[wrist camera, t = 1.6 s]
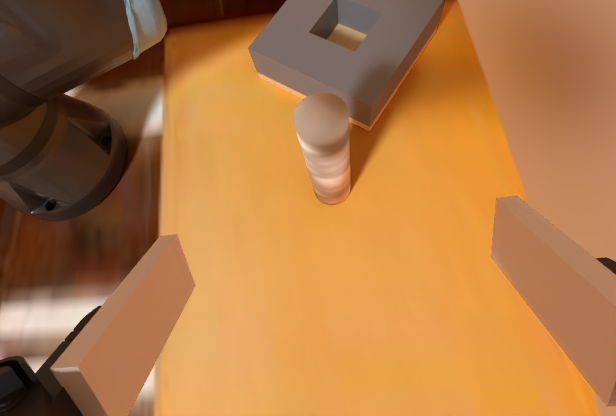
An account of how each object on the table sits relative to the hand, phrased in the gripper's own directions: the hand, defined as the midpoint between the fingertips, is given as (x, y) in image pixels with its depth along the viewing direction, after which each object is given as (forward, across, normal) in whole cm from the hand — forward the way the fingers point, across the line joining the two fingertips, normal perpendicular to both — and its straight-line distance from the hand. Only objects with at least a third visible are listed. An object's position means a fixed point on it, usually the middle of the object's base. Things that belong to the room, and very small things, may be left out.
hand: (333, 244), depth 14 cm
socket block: (+35, +3, +6) cm, 36 cm away
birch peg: (+23, 0, -7) cm, 24 cm away
